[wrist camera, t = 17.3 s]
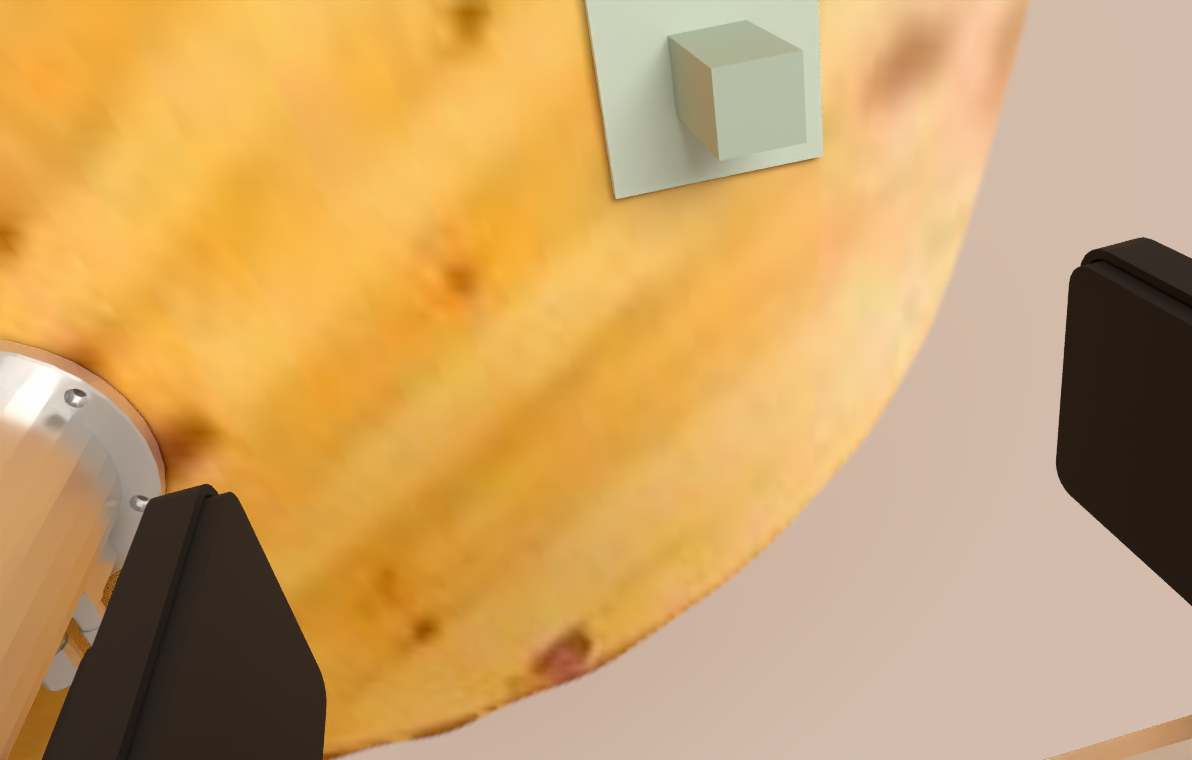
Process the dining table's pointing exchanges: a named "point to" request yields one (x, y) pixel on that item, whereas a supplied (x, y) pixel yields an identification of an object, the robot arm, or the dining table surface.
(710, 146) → the lid
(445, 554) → the dining table surface
